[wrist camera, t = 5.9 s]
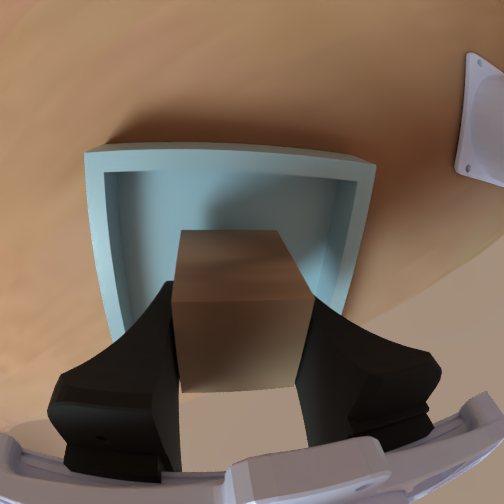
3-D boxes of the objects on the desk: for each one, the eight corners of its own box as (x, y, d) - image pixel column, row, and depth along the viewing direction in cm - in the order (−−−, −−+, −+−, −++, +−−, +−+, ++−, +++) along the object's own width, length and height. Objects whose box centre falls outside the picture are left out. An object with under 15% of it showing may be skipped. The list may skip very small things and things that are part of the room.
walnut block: (276, 230, 13) (315, 298, 9) (267, 307, 15) (293, 386, 10) (181, 229, 12) (171, 302, 8) (184, 308, 14) (181, 392, 10)
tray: (351, 154, 14) (376, 165, 12) (312, 339, 19) (324, 366, 17) (104, 144, 12) (84, 152, 10) (128, 342, 17) (121, 372, 15)
